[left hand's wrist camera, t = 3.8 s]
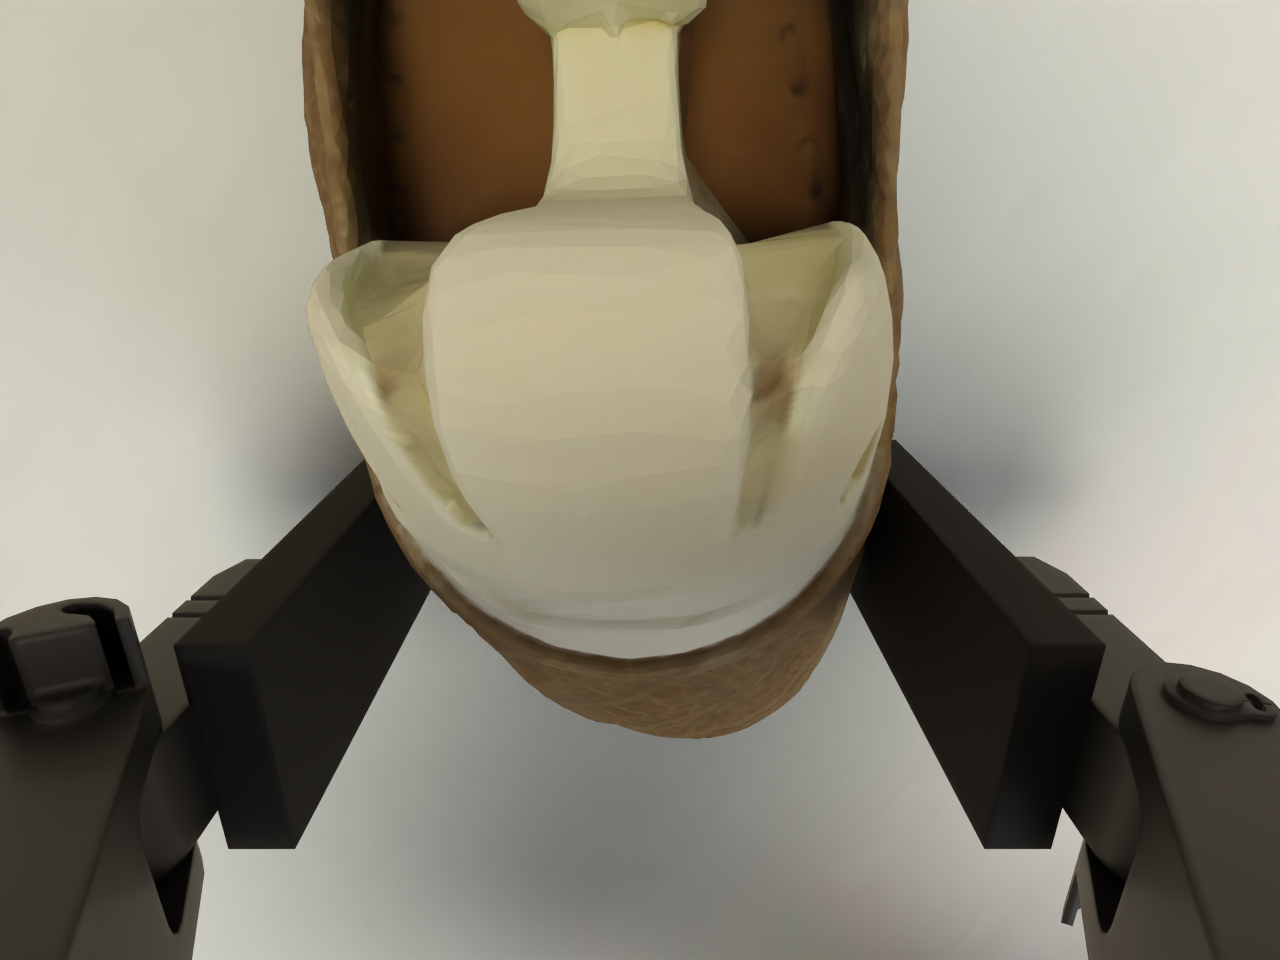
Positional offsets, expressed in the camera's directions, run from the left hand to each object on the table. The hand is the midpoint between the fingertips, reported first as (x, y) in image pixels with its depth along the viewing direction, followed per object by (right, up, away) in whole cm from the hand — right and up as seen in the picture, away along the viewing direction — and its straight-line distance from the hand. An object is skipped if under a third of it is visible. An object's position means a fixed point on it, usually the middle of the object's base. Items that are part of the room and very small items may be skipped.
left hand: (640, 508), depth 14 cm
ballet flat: (0, +7, -2) cm, 8 cm away
